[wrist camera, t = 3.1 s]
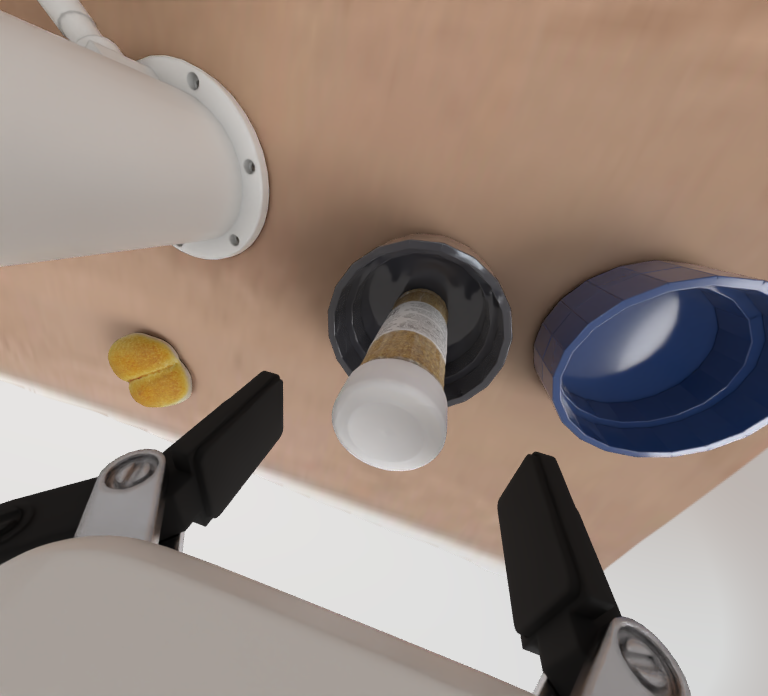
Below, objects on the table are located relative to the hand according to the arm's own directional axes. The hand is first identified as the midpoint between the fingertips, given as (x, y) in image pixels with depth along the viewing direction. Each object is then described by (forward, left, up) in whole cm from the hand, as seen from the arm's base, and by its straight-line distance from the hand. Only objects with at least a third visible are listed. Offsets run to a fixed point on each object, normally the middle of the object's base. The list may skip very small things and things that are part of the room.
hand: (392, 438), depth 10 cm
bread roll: (-8, -30, -14) cm, 34 cm away
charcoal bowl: (0, 0, -14) cm, 14 cm away
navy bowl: (+9, +12, -14) cm, 20 cm away
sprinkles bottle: (0, 0, -14) cm, 14 cm away
